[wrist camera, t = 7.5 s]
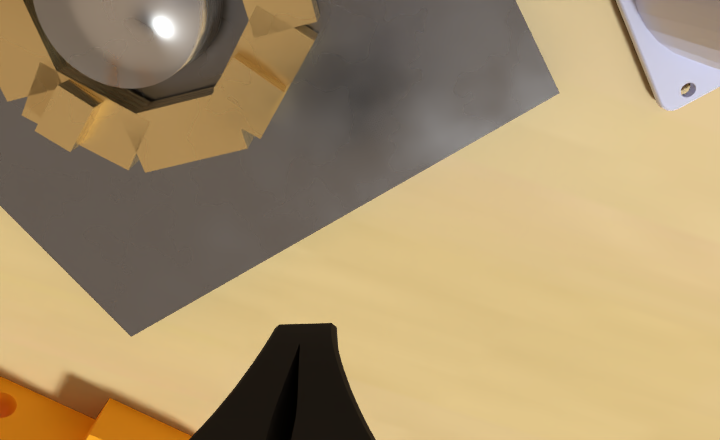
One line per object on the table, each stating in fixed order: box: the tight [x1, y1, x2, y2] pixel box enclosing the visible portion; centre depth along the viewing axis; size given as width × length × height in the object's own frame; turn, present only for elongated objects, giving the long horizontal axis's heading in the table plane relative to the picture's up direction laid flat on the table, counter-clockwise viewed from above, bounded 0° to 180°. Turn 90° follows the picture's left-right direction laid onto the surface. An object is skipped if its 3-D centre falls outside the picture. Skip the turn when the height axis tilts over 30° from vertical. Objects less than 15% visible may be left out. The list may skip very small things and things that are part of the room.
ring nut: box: [0, 0, 320, 173], centre depth 16 cm, size 11×10×6 cm
